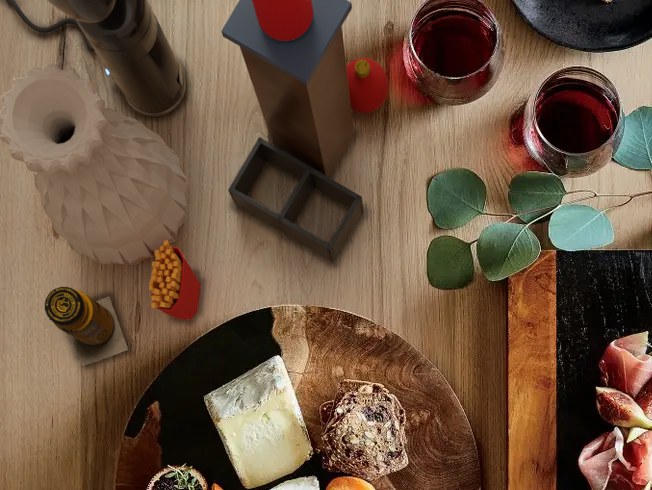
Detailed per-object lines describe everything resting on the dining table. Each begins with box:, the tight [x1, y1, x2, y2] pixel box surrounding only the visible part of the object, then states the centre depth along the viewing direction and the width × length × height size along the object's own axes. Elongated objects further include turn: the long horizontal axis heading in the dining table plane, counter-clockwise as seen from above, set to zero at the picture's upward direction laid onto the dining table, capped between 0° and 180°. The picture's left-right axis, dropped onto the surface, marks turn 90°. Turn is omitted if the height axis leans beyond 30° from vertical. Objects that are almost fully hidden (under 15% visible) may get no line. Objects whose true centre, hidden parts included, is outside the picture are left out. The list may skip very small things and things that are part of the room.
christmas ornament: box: [346, 57, 389, 114], centre depth 117 cm, size 7×7×10 cm
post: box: [239, 25, 355, 178], centre depth 107 cm, size 9×8×30 cm
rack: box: [227, 136, 365, 264], centre depth 119 cm, size 17×9×6 cm, turn 60°
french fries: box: [148, 240, 201, 321], centre depth 116 cm, size 9×4×13 cm, turn 173°
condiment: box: [44, 286, 129, 367], centre depth 116 cm, size 7×8×12 cm
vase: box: [0, 63, 188, 266], centre depth 107 cm, size 20×20×30 cm
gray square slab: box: [221, 0, 353, 85], centre depth 91 cm, size 11×10×1 cm
